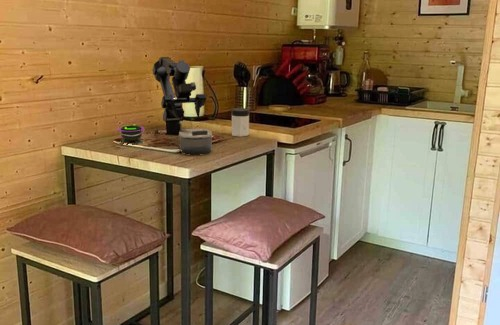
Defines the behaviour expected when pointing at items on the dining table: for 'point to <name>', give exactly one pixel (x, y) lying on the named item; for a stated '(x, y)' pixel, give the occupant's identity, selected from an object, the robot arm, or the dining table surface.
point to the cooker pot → (196, 145)
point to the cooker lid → (195, 133)
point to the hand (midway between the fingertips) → (188, 117)
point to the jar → (240, 122)
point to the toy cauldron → (131, 134)
